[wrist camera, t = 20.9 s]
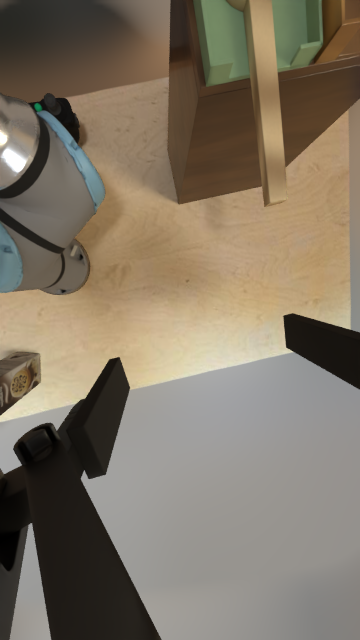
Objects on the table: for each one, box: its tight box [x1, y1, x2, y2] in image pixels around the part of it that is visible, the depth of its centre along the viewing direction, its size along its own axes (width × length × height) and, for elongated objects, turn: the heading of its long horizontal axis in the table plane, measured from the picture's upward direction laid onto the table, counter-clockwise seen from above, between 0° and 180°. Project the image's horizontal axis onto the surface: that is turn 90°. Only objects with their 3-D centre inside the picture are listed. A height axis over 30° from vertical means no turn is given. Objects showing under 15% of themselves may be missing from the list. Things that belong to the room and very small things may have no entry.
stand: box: [168, 0, 360, 204], centre depth 31 cm, size 12×23×29 cm, turn 103°
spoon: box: [226, 0, 288, 207], centre depth 17 cm, size 23×6×2 cm, turn 13°
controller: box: [28, 93, 80, 143], centre depth 37 cm, size 4×12×10 cm, turn 98°
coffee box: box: [0, 352, 41, 415], centre depth 44 cm, size 9×6×16 cm
